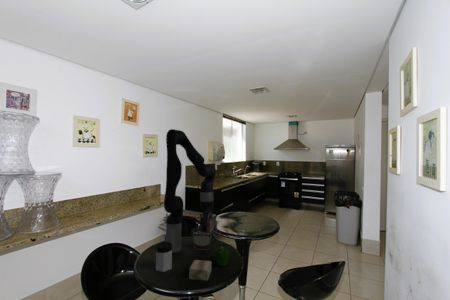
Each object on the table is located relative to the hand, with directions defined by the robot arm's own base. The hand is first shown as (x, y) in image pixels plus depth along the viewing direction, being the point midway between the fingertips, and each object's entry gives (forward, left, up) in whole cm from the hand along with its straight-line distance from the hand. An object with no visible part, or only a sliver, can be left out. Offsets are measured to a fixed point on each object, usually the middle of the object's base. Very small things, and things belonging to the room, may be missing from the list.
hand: (206, 229), depth 121 cm
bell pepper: (+9, 0, -18) cm, 20 cm away
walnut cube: (0, 0, -1) cm, 1 cm away
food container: (-9, +16, -18) cm, 25 cm away
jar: (-19, -13, -18) cm, 29 cm away
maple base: (+2, -13, -18) cm, 22 cm away
